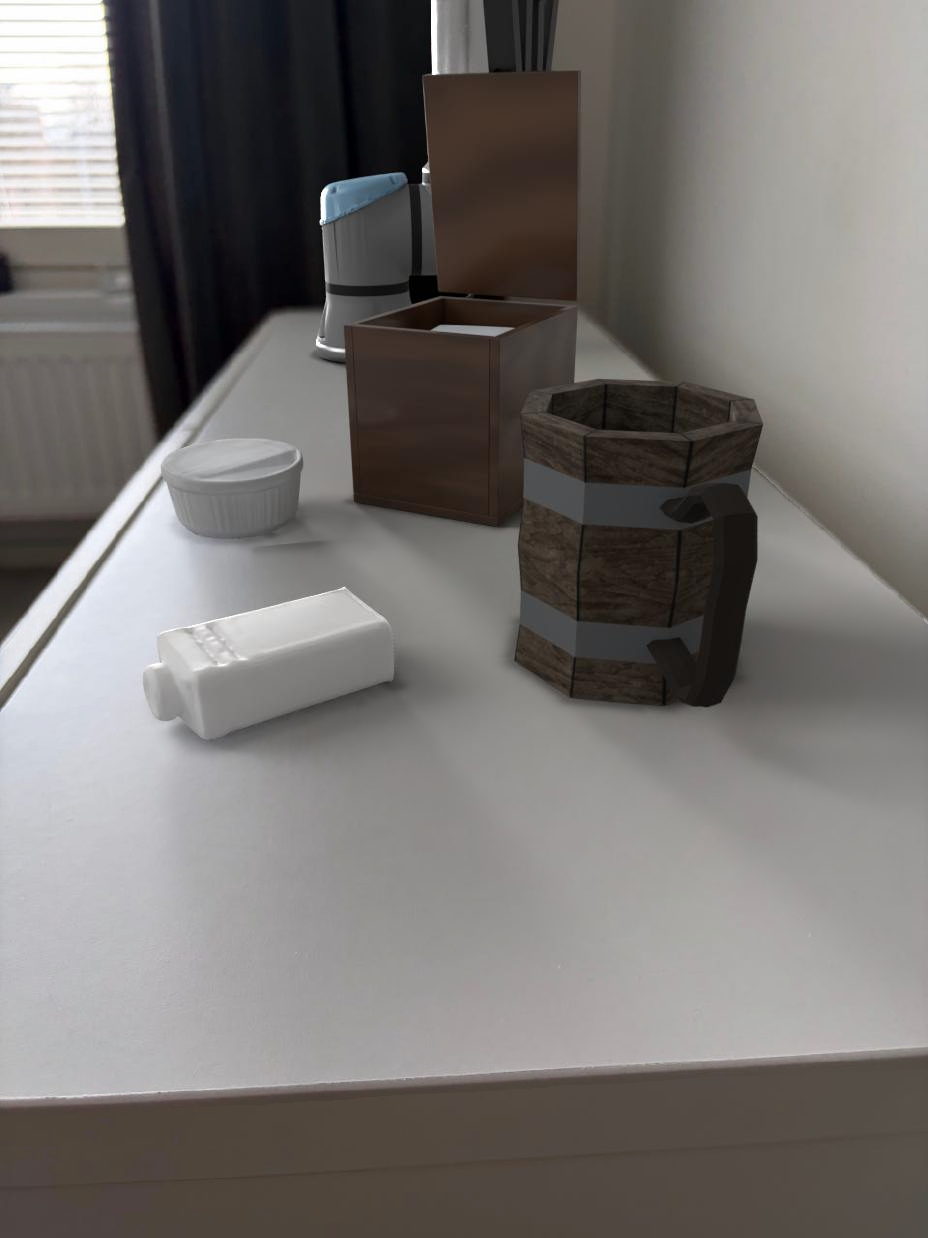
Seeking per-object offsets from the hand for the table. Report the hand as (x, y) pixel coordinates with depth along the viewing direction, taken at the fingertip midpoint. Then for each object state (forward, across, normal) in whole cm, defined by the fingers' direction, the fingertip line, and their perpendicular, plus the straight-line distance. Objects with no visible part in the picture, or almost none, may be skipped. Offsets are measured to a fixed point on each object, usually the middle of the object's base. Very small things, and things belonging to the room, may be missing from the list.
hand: (518, 181), depth 84 cm
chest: (+25, +10, 0) cm, 27 cm away
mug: (+25, +36, +24) cm, 50 cm away
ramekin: (+25, +26, -13) cm, 38 cm away
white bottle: (+25, +47, +6) cm, 54 cm away
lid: (+1, +4, 0) cm, 4 cm away
